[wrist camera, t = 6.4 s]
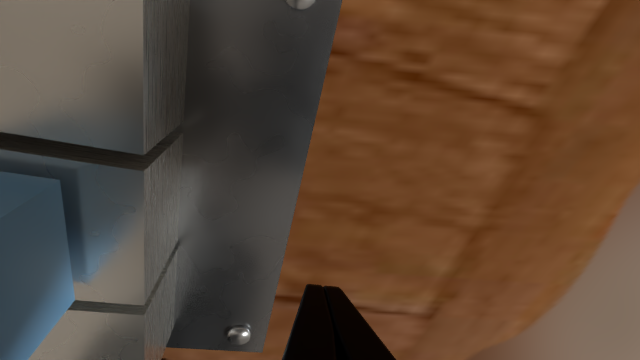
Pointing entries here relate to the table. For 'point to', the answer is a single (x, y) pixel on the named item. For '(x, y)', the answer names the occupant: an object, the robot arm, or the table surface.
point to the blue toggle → (31, 263)
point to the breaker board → (165, 159)
